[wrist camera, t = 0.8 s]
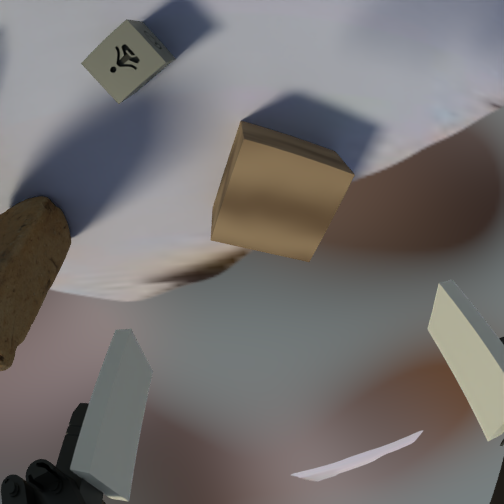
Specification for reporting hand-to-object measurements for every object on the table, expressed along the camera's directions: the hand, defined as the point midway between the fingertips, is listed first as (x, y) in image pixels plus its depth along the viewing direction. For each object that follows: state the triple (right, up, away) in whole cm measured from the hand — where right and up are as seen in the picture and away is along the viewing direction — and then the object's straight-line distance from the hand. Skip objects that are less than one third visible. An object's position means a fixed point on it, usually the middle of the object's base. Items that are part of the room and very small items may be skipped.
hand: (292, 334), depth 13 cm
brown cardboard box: (0, +11, +20) cm, 23 cm away
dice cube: (-12, +21, +11) cm, 26 cm away
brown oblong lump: (-28, +7, +20) cm, 35 cm away
